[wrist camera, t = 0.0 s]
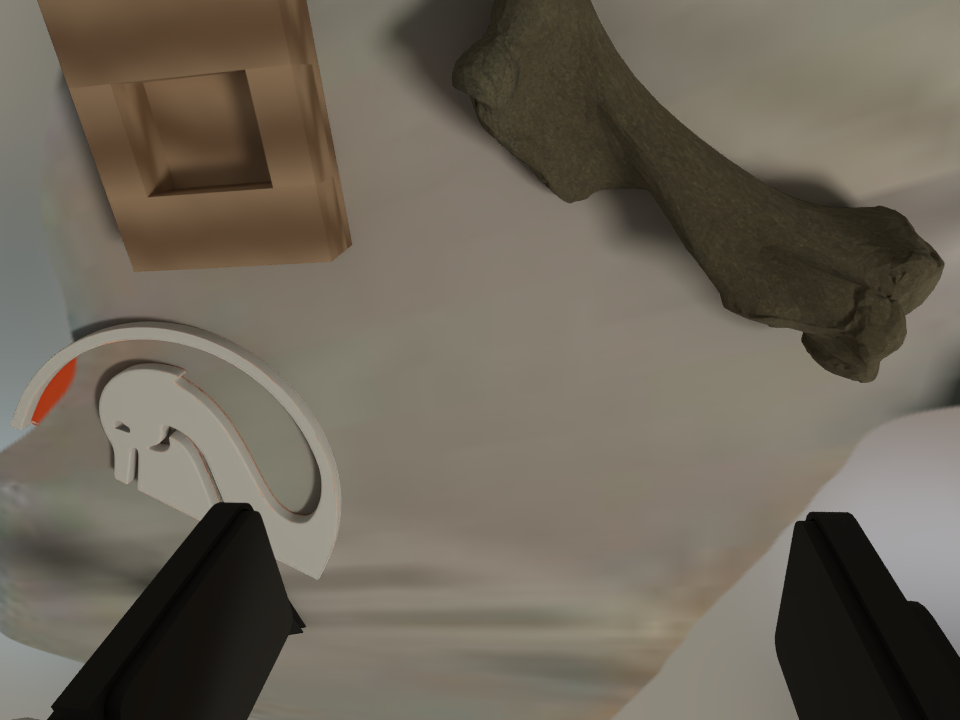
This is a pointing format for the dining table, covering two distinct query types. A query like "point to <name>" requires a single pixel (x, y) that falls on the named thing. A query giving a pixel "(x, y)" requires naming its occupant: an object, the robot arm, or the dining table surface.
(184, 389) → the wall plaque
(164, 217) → the well block
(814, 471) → the dining table surface
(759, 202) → the bone
